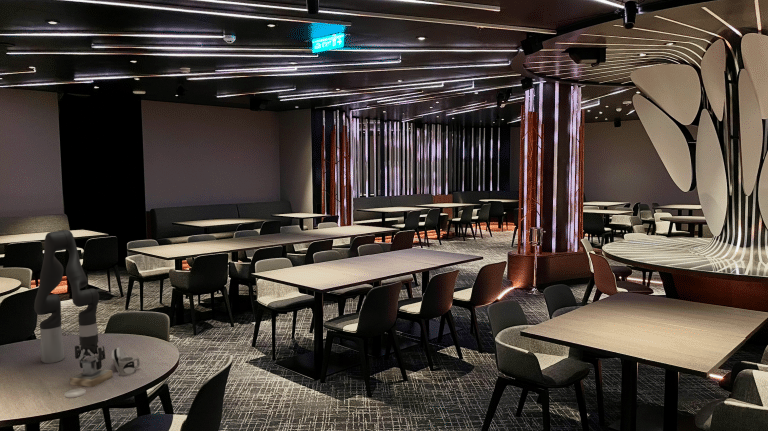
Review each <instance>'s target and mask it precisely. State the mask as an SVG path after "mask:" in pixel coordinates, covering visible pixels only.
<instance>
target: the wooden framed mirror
mask: <svg viewBox="0 0 768 431" xmlns="http://www.w3.org/2000/svg"><path fill="white" fill-rule="evenodd" d="M99 370H101V372H100V373H98V374H96V375H94V376H92V377H89V376H81V374H83V371H82V372H81V373H78V374H76V375H75V376H72V377H70V378H69V382H70V386H78V387H79V386H81V387H87V388H88V387H89V388H94V387H96V386H98V385H99V384H102V383H104V382H105V381H107V380H109V379H111V378H113V376H114V375H113V370H111V369H99Z"/></svg>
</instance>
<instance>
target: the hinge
mask: <svg viewBox="0 0 768 431" xmlns="http://www.w3.org/2000/svg"><path fill="white" fill-rule="evenodd" d="M125 357H130V356H128V355H127V354H126V352H125V351H124V349H123V347H122V346H118V347H117V348H114V349H112V350H111V360H112V362H113V364H114V367H115V369H116V371H117V372H118V373H119V362H118V360H119V359H121V358H125Z"/></svg>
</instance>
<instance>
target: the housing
mask: <svg viewBox="0 0 768 431" xmlns="http://www.w3.org/2000/svg"><path fill="white" fill-rule="evenodd" d="M97 358H98V357H97ZM98 359H99V358H98ZM80 362H81V363H82V365H83V368H82V372H83V374H81V376H89V377H92V376H94V375H96V374H98V373H100V372H101V370H102V369H100V370H97V369H96V360H95V359H94V358H93V357H92V356H89V357H88V356H87V357H85V358H84V359H83V360H82V361H79V363H80Z"/></svg>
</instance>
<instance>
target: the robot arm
mask: <svg viewBox="0 0 768 431" xmlns="http://www.w3.org/2000/svg"><path fill="white" fill-rule="evenodd" d="M43 249H44V251H43V261H42V266H41V270H40V275H39V276H40V277H39V284H38V289H37V293H36V295H35V298H34V307H33V308H34V312H35V313H36V315H39V316H44V315H49V314H50V316H48V317H47V318H46V319H44V320H42V321H40V323H39V330H40V343H39V351H40V353H39V354H40V361H41V362H42V363H45V364H53V363H58V362H60V361H63V360H64V359H65V357H64V356H65V355H64V341H63V329H62V303H61V298H60V296H59V294H56V293H54V294H51V293H52V292H53V291H54V290H55V289H56V288H57V287H59V285H60V284H61V283H62V280H63V277H64V276H63V275H64V266H63V265H62V263H61V261H59V260H58V259H57V257H56V256H55V254H56V252H59V251H61V252H62V251H65V250H66V251H68V255H69V257H68V261H67V265H66V268H65V275H66V278H67V280H68V282H69V285H70V289H71V299H72V303H73V305H74V306H75V307H78V308H80V307H86V308H85V309H83V310H81V311H80V312H78V314H77V316H78V337H79V339H78V341H79V344H77V345H75V346H74V359H76V360H77V359H78V361H79V367H80V369H83V365H82V363H81V362H80V361H82V360H83V359H86V358H87V357H88V356H89V357H93V358H94V359H95V360H96V369H97V370H99V369H100V370H102V367H103V365H102V364H103V363H102V362H103V361H104V360H106V351H105V350H106V349H105V346H104V345H102V346H99V345H98V343H99V331H98V330H99V328H98V324H97V323H98V322H97V311H98V306H99V305H98V304H99V300H100V294H99V291H98V290H97V289H95V288H88V289H83V288H85V287H86V286H87V285H88V284H89V280H88V277H87V275H86V273H85V271H84V268H83V266H82V263H81V259H80V255H79V251H78V247H77V243H76V240H75V236H74V235H73V233H72V231H70V230H68V229H61V230H54V231H50V232H47V233H46V234H45V237H44V248H43ZM81 289H83V290H81ZM97 357H98V358H99V359H98V358H97Z"/></svg>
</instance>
